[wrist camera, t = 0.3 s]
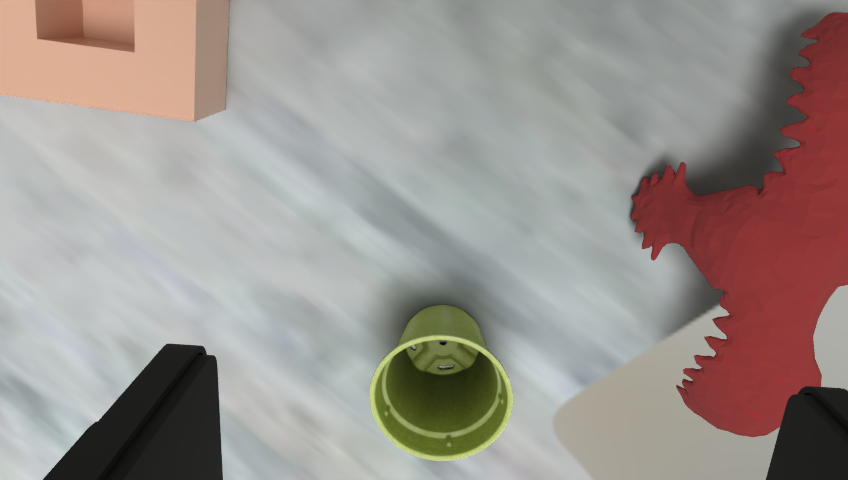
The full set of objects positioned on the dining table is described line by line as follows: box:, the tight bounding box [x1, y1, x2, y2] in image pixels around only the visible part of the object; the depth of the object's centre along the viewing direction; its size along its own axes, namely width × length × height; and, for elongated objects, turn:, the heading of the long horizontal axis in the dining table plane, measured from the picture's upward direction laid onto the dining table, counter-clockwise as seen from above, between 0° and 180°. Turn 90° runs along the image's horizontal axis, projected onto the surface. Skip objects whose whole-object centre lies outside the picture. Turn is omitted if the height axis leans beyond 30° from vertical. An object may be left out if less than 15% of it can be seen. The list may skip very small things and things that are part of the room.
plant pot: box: [370, 305, 513, 461], centre depth 46 cm, size 9×9×9 cm
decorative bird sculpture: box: [631, 13, 848, 437], centre depth 42 cm, size 28×9×15 cm
